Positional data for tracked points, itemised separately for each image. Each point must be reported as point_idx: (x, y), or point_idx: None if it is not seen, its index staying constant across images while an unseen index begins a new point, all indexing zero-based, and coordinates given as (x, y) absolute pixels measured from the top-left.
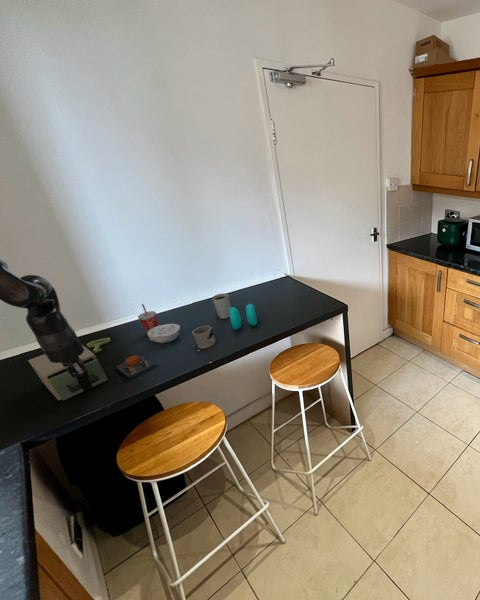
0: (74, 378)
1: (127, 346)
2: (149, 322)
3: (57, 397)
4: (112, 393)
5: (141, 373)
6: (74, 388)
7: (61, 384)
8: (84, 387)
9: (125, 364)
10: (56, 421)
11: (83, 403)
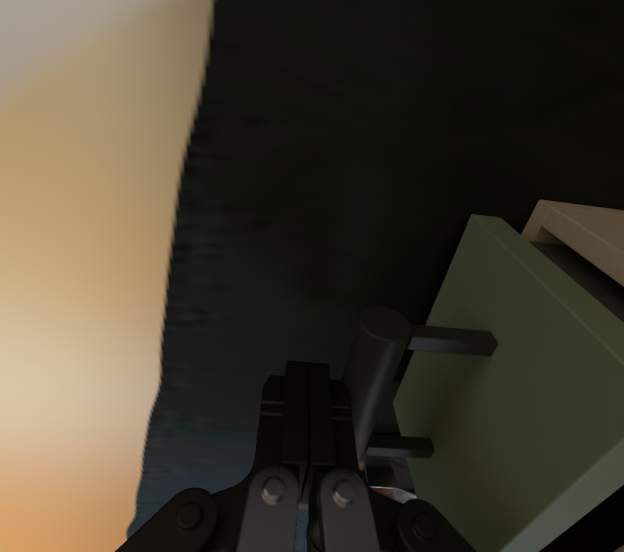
0: (341, 499)
1: None
2: None
3: (555, 215)
4: (256, 358)
5: None
6: (359, 357)
7: (530, 351)
8: (262, 398)
9: (387, 496)
10: (276, 65)
11: (319, 256)
